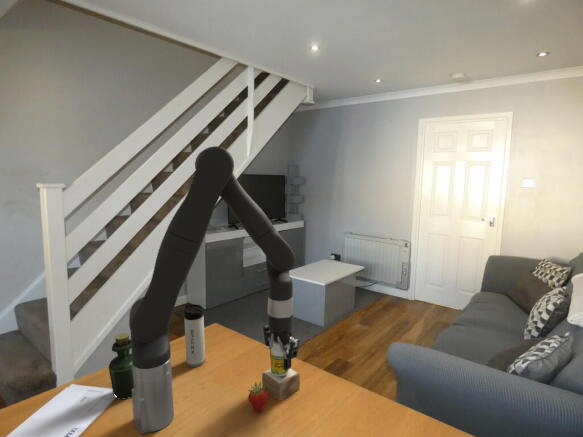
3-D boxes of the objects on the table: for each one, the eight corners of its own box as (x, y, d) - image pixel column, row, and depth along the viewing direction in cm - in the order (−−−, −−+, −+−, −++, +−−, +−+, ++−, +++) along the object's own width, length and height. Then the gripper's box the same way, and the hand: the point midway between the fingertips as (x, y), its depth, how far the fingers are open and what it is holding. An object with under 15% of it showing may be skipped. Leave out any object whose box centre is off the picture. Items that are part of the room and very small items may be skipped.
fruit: (255, 402, 98) (254, 376, 97) (271, 408, 96) (271, 381, 95) (245, 414, 93) (244, 387, 92) (262, 420, 91) (261, 392, 90)
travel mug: (196, 355, 123) (194, 301, 120) (208, 361, 119) (207, 306, 116) (181, 362, 118) (179, 307, 115) (194, 369, 114) (191, 312, 111)
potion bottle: (142, 396, 100) (138, 338, 98) (110, 405, 97) (106, 345, 94) (139, 381, 108) (136, 327, 105) (110, 389, 104) (106, 333, 101)
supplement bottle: (286, 365, 106) (286, 336, 105) (290, 375, 101) (290, 345, 100) (269, 367, 105) (269, 338, 104) (272, 378, 100) (272, 347, 99)
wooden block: (279, 401, 99) (279, 384, 98) (262, 388, 104) (262, 372, 104) (299, 389, 104) (299, 372, 103) (282, 377, 110) (282, 362, 109)
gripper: (255, 307, 103) (255, 359, 106) (287, 323, 93) (287, 380, 95) (274, 301, 108) (274, 351, 111) (307, 315, 98) (306, 370, 100)
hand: (280, 364), depth 103 cm, fingers closed on supplement bottle, 5 cm apart
